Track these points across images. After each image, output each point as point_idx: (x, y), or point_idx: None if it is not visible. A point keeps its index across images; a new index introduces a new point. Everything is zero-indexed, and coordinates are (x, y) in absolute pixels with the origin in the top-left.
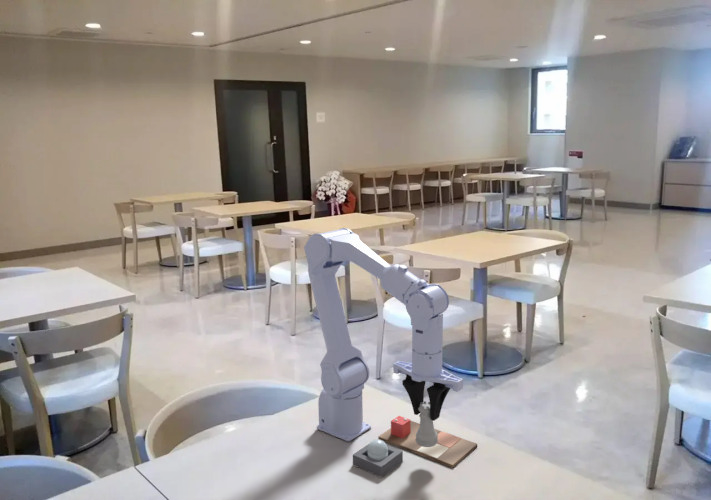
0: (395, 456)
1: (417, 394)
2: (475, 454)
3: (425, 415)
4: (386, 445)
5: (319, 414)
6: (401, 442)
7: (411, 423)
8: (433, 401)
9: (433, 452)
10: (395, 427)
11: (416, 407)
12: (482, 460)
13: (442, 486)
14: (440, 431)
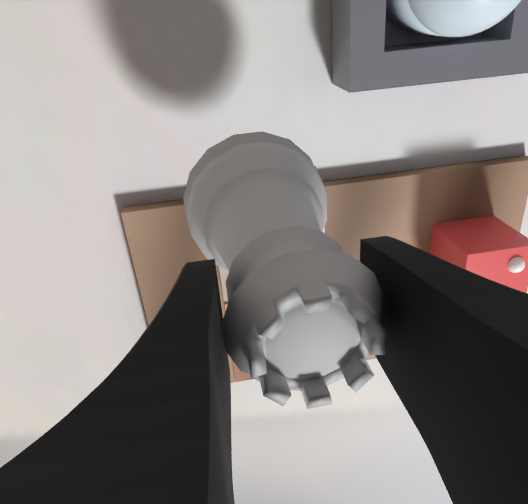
0: (350, 14)
1: (465, 387)
2: (131, 343)
3: (270, 258)
4: (436, 8)
5: None
6: (418, 194)
7: None
8: (135, 388)
9: None
10: (493, 237)
11: (391, 272)
12: (79, 331)
13: (35, 40)
14: None
